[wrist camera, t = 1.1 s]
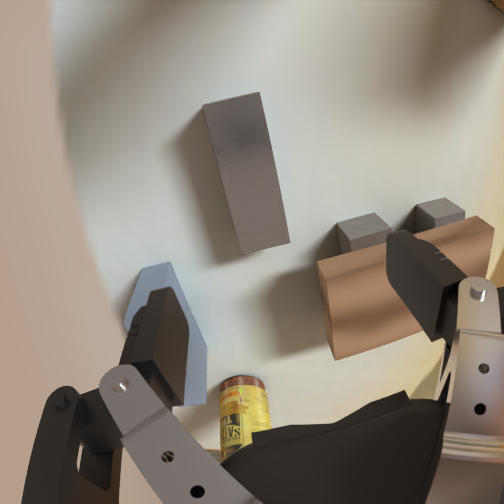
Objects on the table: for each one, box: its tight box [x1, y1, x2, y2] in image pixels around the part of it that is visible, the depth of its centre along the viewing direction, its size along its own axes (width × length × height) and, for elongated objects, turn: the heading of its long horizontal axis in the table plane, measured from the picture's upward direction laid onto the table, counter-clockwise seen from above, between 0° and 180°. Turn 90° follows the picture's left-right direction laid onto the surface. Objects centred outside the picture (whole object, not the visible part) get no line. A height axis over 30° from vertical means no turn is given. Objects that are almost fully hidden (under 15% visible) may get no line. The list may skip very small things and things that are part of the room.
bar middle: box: [337, 213, 391, 255], centre depth 30 cm, size 12×4×4 cm, turn 16°
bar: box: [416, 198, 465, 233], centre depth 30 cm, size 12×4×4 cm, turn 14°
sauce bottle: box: [219, 376, 272, 462], centre depth 30 cm, size 6×6×20 cm
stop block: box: [122, 262, 207, 407], centre depth 28 cm, size 12×3×8 cm, turn 13°
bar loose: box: [202, 92, 290, 254], centre depth 24 cm, size 12×4×4 cm, turn 13°
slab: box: [317, 216, 494, 361], centre depth 27 cm, size 10×18×3 cm, turn 105°
